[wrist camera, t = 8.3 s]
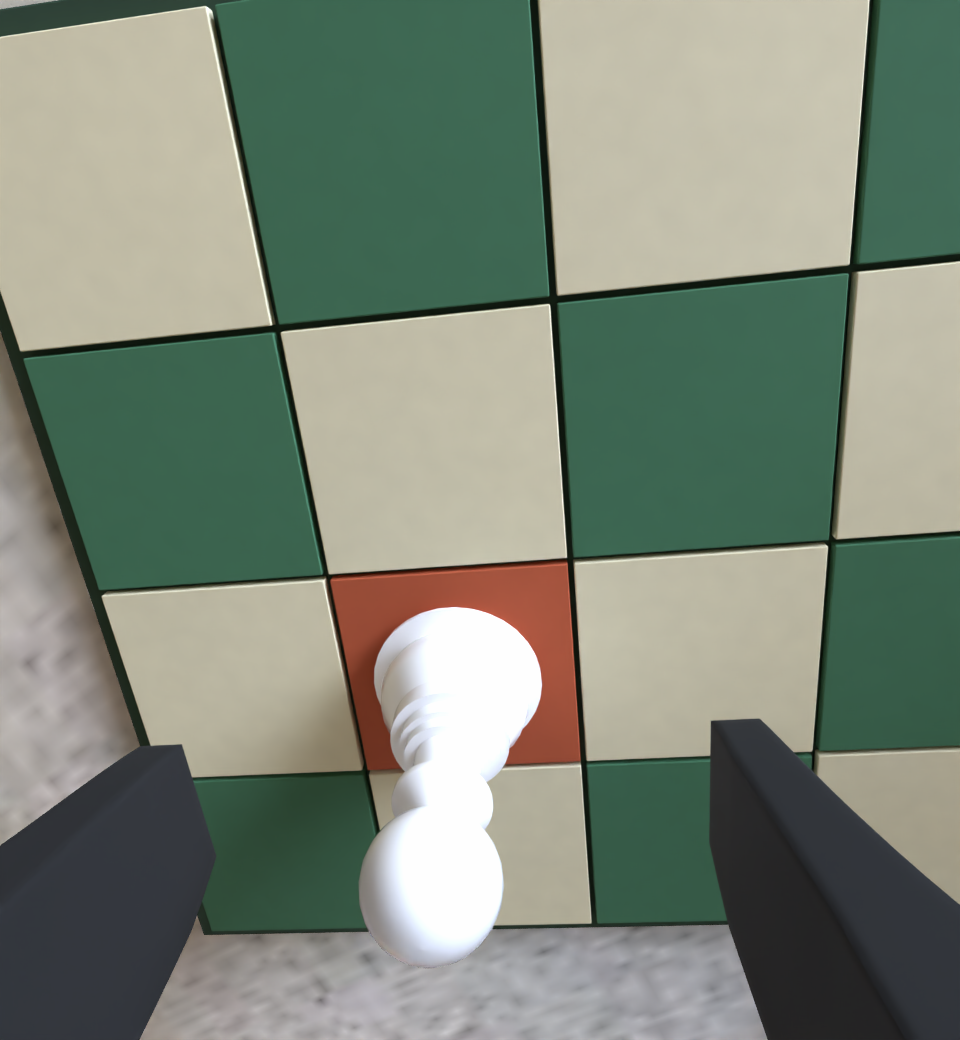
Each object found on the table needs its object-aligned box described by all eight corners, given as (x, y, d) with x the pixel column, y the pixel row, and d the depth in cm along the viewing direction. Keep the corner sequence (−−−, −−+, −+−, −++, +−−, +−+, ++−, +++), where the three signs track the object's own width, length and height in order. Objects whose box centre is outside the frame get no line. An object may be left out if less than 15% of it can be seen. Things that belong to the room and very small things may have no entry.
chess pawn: (523, 589, 12) (521, 821, 7) (555, 730, 13) (571, 1019, 8) (356, 617, 12) (249, 857, 7) (400, 753, 13) (330, 1039, 8)
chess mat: (1023, 909, 14) (1036, 928, 14) (207, 927, 16) (199, 944, 15) (1273, -182, 8) (1308, -201, 8) (-92, 29, 10) (-117, 20, 9)
